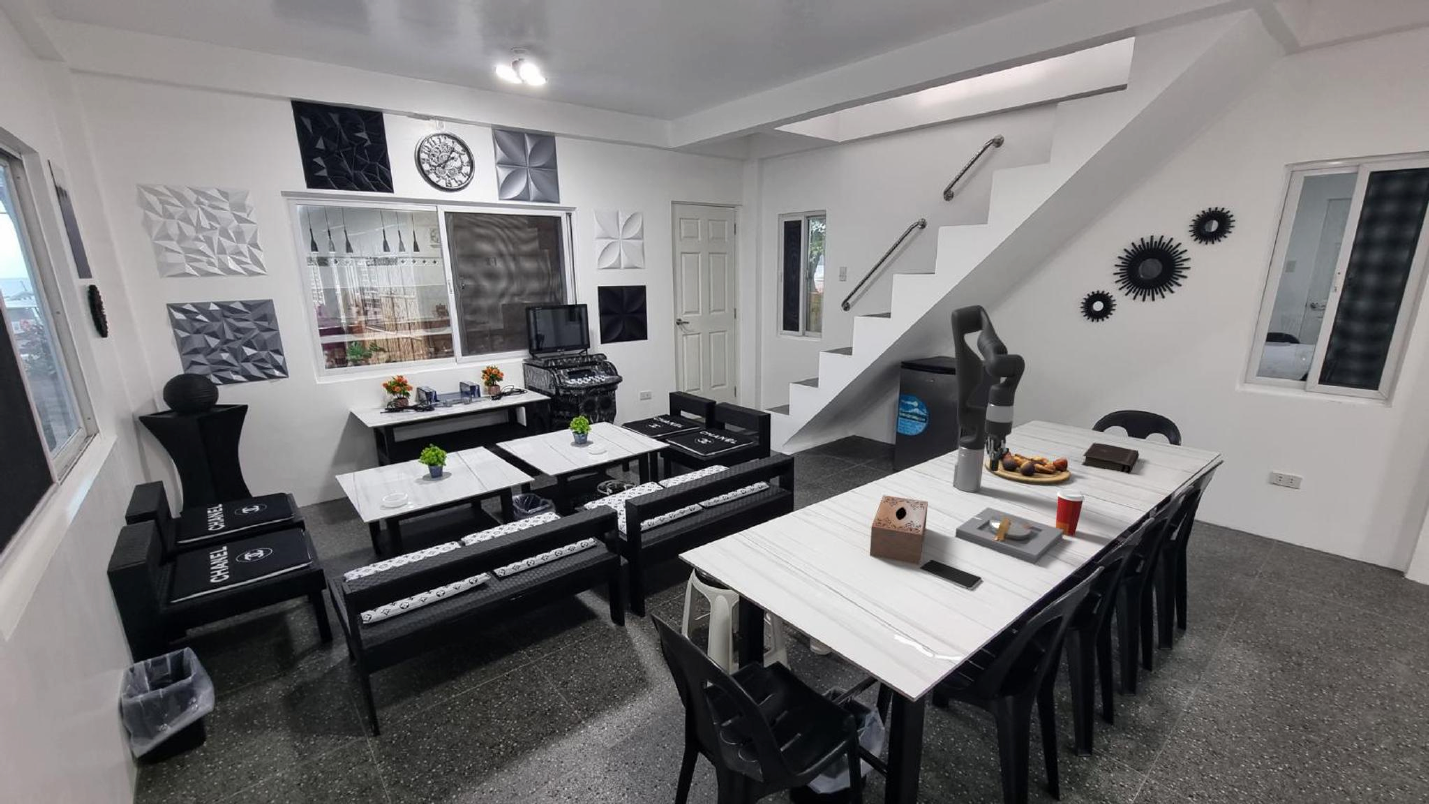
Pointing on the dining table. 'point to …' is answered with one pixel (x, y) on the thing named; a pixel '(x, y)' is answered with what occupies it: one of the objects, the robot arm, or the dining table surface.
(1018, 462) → the wooden plate with food
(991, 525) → the dial
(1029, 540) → the panel
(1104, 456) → the diary
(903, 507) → the tissue box cover
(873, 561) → the dining table surface
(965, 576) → the smartphone
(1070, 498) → the paper cup
